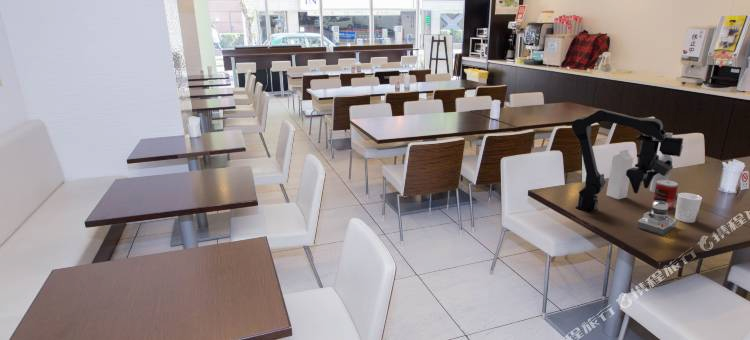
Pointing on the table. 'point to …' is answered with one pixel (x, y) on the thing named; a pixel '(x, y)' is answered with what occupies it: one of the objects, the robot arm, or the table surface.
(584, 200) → the robot arm
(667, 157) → the bottle
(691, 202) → the white cup
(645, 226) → the camera body
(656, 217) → the lens
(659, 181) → the canned food
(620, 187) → the milk
